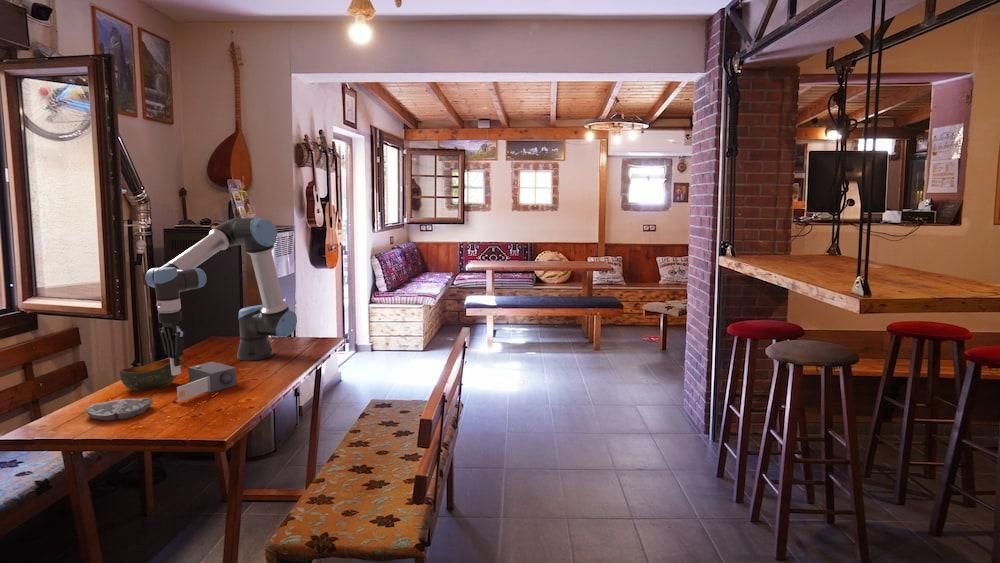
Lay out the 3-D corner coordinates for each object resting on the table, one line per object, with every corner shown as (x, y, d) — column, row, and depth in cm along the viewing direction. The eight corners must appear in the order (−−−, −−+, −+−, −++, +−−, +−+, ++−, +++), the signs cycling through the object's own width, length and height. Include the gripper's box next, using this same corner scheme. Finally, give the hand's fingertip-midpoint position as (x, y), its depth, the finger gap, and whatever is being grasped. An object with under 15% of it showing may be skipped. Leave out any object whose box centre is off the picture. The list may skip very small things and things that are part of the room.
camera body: (213, 378, 252) (212, 360, 251) (239, 385, 243) (238, 366, 241) (189, 384, 244) (187, 365, 243) (215, 392, 234) (213, 372, 233)
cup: (175, 391, 237) (172, 365, 235) (118, 393, 234) (115, 367, 233) (187, 380, 250) (185, 356, 248) (133, 383, 247) (131, 358, 246)
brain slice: (80, 428, 201) (79, 419, 200) (90, 411, 216) (89, 402, 216) (150, 418, 208) (149, 410, 208) (155, 403, 224) (154, 395, 223)
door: (177, 403, 222) (176, 387, 221) (209, 391, 236) (208, 376, 235) (181, 403, 222) (180, 387, 221) (212, 391, 235) (211, 376, 234)
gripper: (149, 310, 225) (156, 374, 229) (169, 314, 218) (176, 380, 222) (169, 307, 231) (176, 368, 235) (190, 310, 224) (196, 374, 228)
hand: (176, 374), depth 228 cm, fingers closed
